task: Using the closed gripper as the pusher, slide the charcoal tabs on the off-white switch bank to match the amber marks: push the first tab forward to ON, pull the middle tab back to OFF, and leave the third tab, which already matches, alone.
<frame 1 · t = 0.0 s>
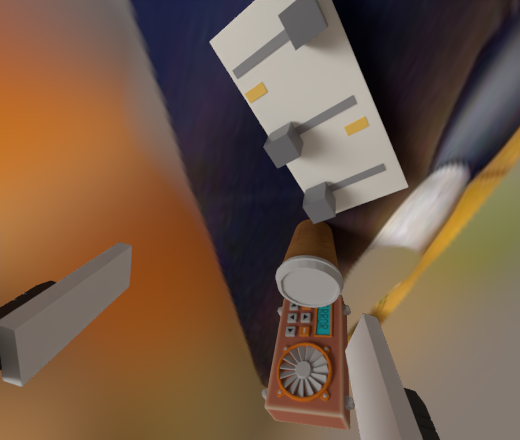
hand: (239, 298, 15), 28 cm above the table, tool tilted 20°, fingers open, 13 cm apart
switch bank: (318, 109, 34), on the table
tab c: (319, 202, 35), point 6 cm above the table, slide at 7.5 cm
control panel: (314, 303, 59), on the table
tab a: (304, 20, 24), point 6 cm above the table, slide at 0.0 cm
tab b: (284, 144, 32), point 6 cm above the table, slide at 7.5 cm
disposable coffee cup: (313, 232, 47), on the table
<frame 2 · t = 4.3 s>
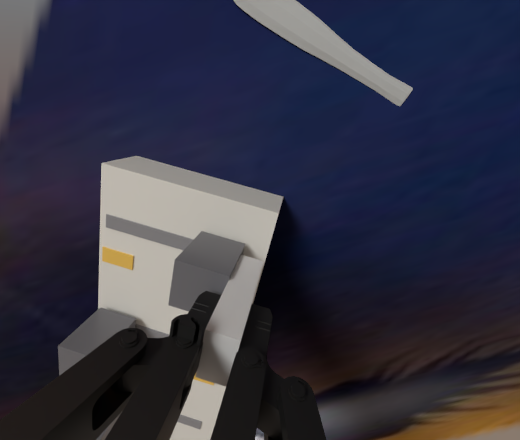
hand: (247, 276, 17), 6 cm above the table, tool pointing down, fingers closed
switch bank: (186, 307, 26), on the table
tab c: (97, 422, 23), point 6 cm above the table, slide at 7.5 cm
tab a: (209, 272, 16), point 6 cm above the table, slide at 0.5 cm, touching gripper
tab b: (100, 346, 20), point 6 cm above the table, slide at 7.5 cm
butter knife: (410, 97, 18), on the table
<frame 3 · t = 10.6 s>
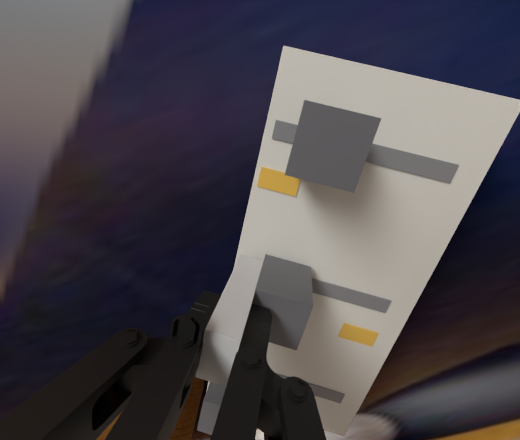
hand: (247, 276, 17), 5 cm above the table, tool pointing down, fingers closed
switch bank: (318, 259, 22), on the table
tab c: (229, 394, 19), point 6 cm above the table, slide at 7.5 cm
tab a: (326, 144, 13), point 6 cm above the table, slide at 6.2 cm
tab b: (279, 298, 16), point 6 cm above the table, slide at 6.1 cm, touching gripper
disposable coffee cup: (176, 376, 29), on the table
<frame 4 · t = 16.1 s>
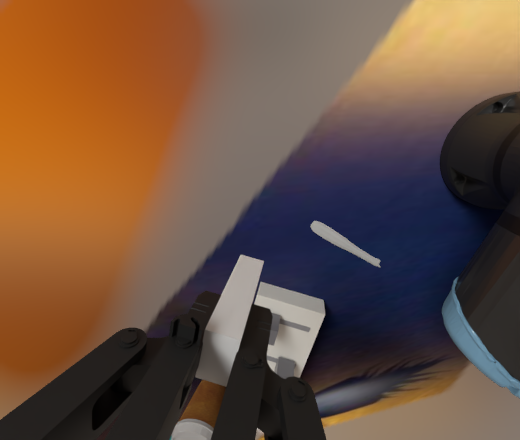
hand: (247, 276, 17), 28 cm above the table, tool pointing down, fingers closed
switch bank: (274, 343, 55), on the table
tab a: (268, 327, 46), point 6 cm above the table, slide at 6.2 cm
tab b: (283, 373, 49), point 6 cm above the table, slide at 1.1 cm
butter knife: (380, 262, 46), on the table
disposable coffee cup: (212, 387, 62), on the table
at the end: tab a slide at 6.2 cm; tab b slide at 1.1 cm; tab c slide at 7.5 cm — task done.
